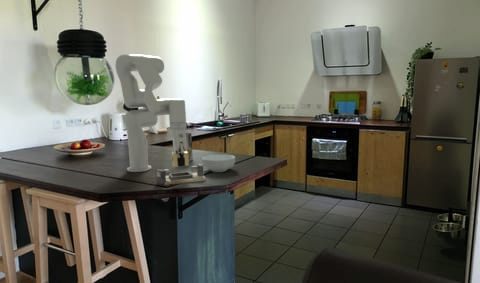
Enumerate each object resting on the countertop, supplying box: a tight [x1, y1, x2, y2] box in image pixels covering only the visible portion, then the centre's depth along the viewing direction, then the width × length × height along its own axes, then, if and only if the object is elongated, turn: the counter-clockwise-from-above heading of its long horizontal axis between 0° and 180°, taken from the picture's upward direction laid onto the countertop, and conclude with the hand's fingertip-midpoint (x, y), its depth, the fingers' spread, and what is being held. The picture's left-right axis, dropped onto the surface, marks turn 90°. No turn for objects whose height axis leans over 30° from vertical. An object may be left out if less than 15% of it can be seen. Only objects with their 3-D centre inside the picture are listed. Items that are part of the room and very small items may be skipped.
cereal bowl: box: [201, 154, 236, 173], centre depth 187 cm, size 17×17×7 cm
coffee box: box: [184, 132, 194, 162], centre depth 211 cm, size 9×6×16 cm
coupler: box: [170, 151, 190, 168], centre depth 169 cm, size 4×8×6 cm, turn 111°
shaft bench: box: [155, 163, 207, 186], centre depth 170 cm, size 12×22×6 cm, turn 111°
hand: (180, 164), depth 169 cm, fingers closed on coupler, 4 cm apart
